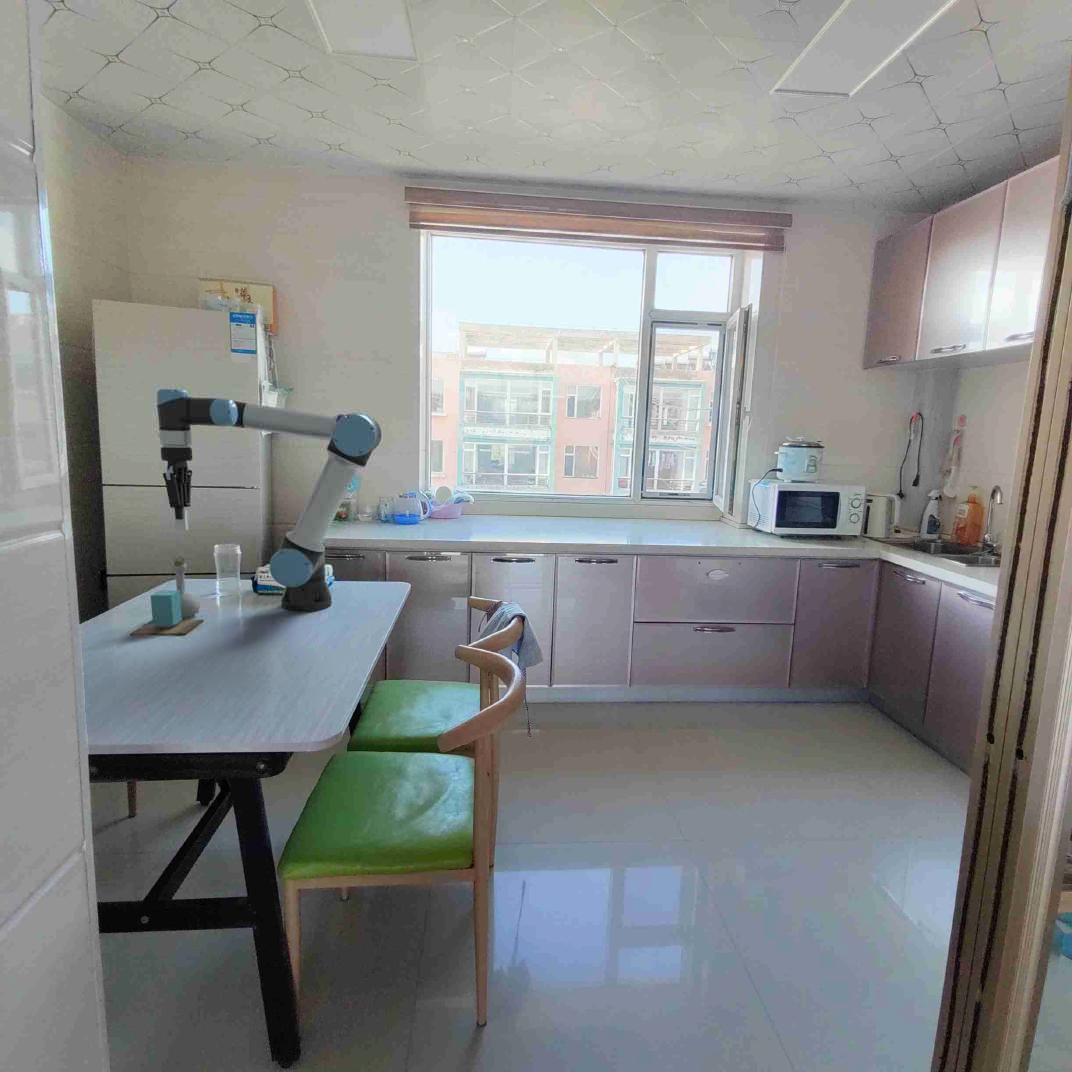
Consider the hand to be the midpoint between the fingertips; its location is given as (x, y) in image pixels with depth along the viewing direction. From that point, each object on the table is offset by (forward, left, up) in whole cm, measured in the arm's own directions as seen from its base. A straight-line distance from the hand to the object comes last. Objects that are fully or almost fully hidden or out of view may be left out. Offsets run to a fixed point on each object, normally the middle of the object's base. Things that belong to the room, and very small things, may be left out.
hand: (182, 530), depth 174 cm
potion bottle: (+2, -2, -27) cm, 27 cm away
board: (+2, +8, -26) cm, 28 cm away
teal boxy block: (+2, +8, -25) cm, 26 cm away
